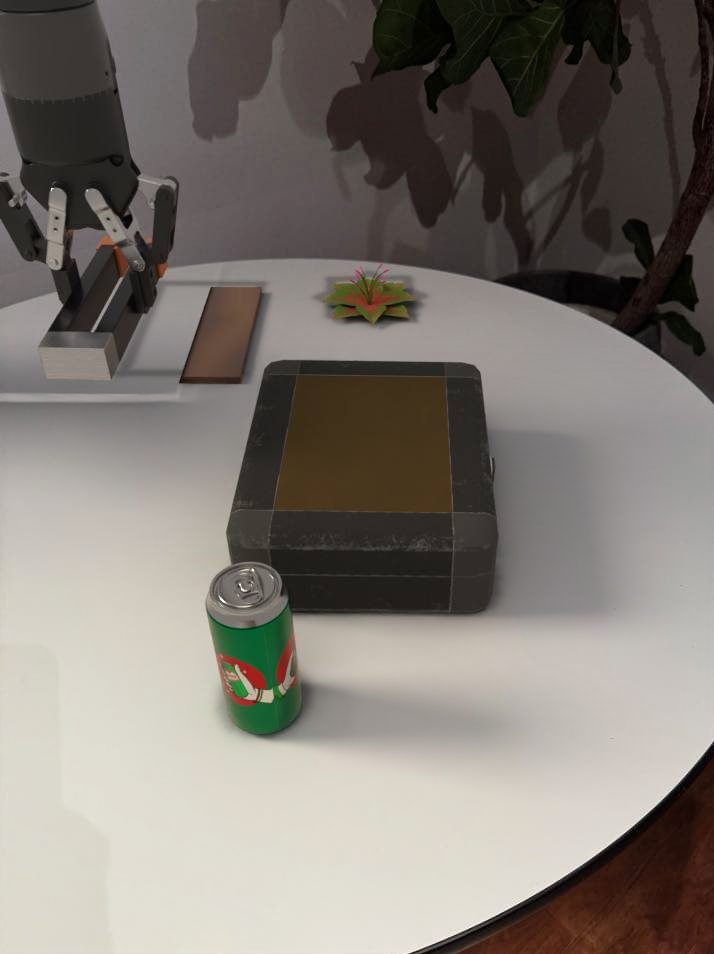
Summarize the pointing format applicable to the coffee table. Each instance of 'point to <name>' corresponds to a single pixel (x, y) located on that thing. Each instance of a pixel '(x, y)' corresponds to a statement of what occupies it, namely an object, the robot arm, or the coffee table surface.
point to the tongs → (94, 320)
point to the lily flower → (369, 298)
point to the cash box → (370, 486)
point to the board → (222, 336)
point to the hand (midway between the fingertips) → (111, 307)
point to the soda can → (255, 646)
